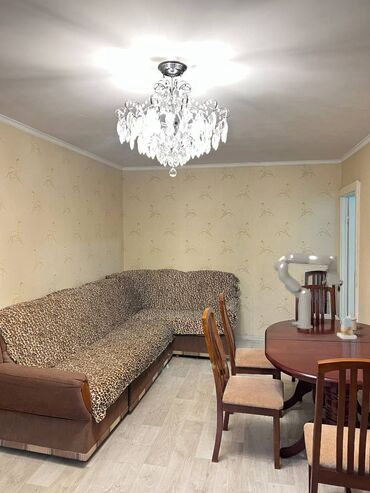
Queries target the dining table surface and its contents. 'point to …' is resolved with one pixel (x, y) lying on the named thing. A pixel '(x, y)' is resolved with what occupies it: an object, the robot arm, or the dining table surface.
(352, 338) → the plinth
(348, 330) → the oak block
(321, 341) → the dining table surface
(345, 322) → the blue block
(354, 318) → the teacup with lid
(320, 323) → the dining table surface
